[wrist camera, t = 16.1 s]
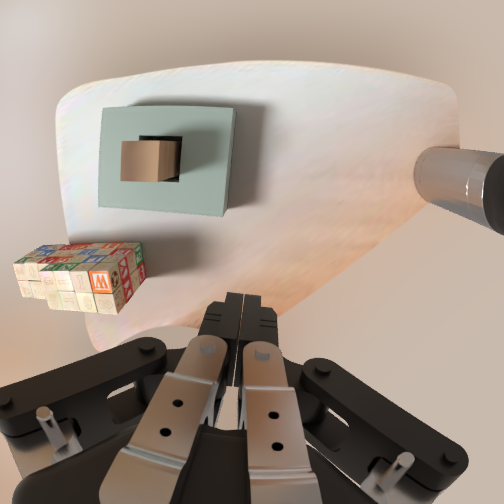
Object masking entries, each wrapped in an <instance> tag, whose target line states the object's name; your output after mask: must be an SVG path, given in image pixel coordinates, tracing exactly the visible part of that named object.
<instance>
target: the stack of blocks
mask: <svg viewBox="0 0 504 504" xmlns="http://www.w3.org/2000/svg"><path fill="white" fill-rule="evenodd" d="M13 265H14V269H15V273H16V277H17V280H18V283H19V287H20V290H21V293H22V297H29V298H38V299H47V302H48V305H49V308H50V309H55V310H73V311H81V312H93V313H98V312H99V313H102V314H118V313H119V312H120V310H121V309H122V308H123V306H124V305H125V304H126V303H127V302H128V301H129V300H130V299H131V297H132V296H133V294H134V293H135V291H136V290H137V289H138V287H139V286H140V285H141V284H142V283H143V281H144V280H145V279H146V274H145V267H144V261H143V255H142V248H141V243H123V242H119V243H93V244H79V245H64V244H63V245H43V246H41V247H39V248H37V249H36V250H34V251H32V252H30V253H28V254H27V255H25V256H24V257H23V258H21V259H20V260H18V261H17V262H15V263H14V264H13Z"/></svg>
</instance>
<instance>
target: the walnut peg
mask: <svg viewBox="0 0 504 504" xmlns="http://www.w3.org/2000/svg"><path fill="white" fill-rule="evenodd" d="M181 149H182V142H178V141H122V145H121V172H120V181H130V182H160V181H163V180H166V179H168V178H171V177H175V176H177V175H180V162H181Z"/></svg>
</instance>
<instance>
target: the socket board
mask: <svg viewBox="0 0 504 504" xmlns="http://www.w3.org/2000/svg"><path fill="white" fill-rule="evenodd" d="M235 120H236V112H235V110H234V109H233V108H225V107H206V106H127V107H109V108H103V111H102V122H101V134H100V150H99V178H98V207H109V208H123V209H136V210H149V211H161V212H173V213H184V214H195V215H206V216H216V217H223V216H224V214H225V212H226V210H227V202H228V191H229V180H230V169H231V159H232V149H233V139H234V129H235ZM152 136H165V137H183V138H182V149H181V162H180V176H179V178H168V179H166V180H163V181H160V182H130V181H120V172H121V145H122V141H151V140H152Z"/></svg>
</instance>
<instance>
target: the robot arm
mask: <svg viewBox="0 0 504 504" xmlns="http://www.w3.org/2000/svg"><path fill="white" fill-rule="evenodd" d="M414 181H415V185H416V188H417V190H418V192H419V194H420V195H421V196H422V198H424V199H425V200H426V201H428V202H430V203H432V204H435V205H437V206H439V207H442V208H444V209H446V210H449V211H451V212H453V213H456V214H458V215H460V216H463V217H465V218H467V219H469V220H472V221H474V222H476V223H478V224H480V225H483V226H485V227H487V228H489V229H491V230H493V231H496V232H497V233H500V234H502V235H504V154H502V153H495V152H485V151H476V150H466V149H455V148H443V147H432V148H429V149H427V150H425V151H424V152H423V153H422V154H421V155H420V156H419V158H418V160H417V162H416V165H415V169H414ZM242 304H243V294H240V293H231V292H227V295H226V299H225V303H224V302H216V301H214V302H213V303H211V304H210V305H209V306H208V307H207V310H206V313H205V315H204V319H203V321H202V324H201V327H200V330H199V333H198V336H197V337H195V338H193V339H192V340H191V341H190V342H189V344H188V346H187V347H185V348H181V349H171V350H170V349H169V350H167V349H166V345H165V344H164V343H163V342H162V341H161V340H159V339H156V338H153V337H142V338H138V339H135V340H133V341H130V342H127V343H125V344H122V345H119V346H117V347H114V348H112V349H109V350H106V351H104V352H101V353H98V354H96V355H93V356H90V357H87V358H85V359H82V360H79V361H77V362H74V363H71V364H68V365H65V366H63V367H60V368H57V369H54V370H51V371H48V372H46V373H43V374H40V375H37V376H34V377H32V378H28V379H25V380H23V381H19V382H17V383H13V384H10V385H7V386H4V387H1V388H0V432H1V433H2V435H3V436H4V438H5V439H6V441H7V442H8V445H9V447H10V450H11V453H12V455H13V458H14V460H15V463H16V465H17V467H18V470H19V472H20V474H21V476H22V479H23V480H22V481H21V482H20V483H19V484H18V485H17V487H16V489H15V491H14V494H13V498H12V504H432V503H433V502H434V500H435V499H436V498H437V497H438V496H439V495H440V494H441V493H442V492H444V490H446V489H447V488H448V487H449V486H450V485H451V484H452V483H453V482H454V481H455V480H456V479H457V478H458V477H459V476H460V475H461V474H462V473H463V472H464V471H465V470H466V468H467V467H468V462H469V459H468V455H467V453H466V451H465V450H464V449H463V448H462V447H461V446H460V445H458V444H457V443H455V442H453V441H452V440H450V439H449V438H447V437H445V436H444V435H442V434H441V433H439V432H437V431H436V430H434V429H433V428H431V427H430V426H428V425H427V424H425V423H423V422H422V421H420V420H419V419H417V418H416V417H414V416H413V415H411V414H410V413H408V412H407V411H405V410H403V409H402V408H400V407H398V406H397V405H396V404H394V403H393V402H391V401H390V400H388V399H387V398H385V397H384V396H383V395H381V394H380V393H378V392H377V391H375V390H374V389H372V388H371V387H369V386H368V385H366V384H365V383H363V382H362V381H360V380H359V379H358V378H356V377H355V376H353V375H352V374H350V373H349V372H347V371H346V370H344V369H343V368H342V367H340V366H339V365H338V364H336V363H335V362H333V361H331V360H328V359H324V358H313V359H309V360H308V361H306V362H305V363H304V365H300V364H297V363H294V362H291V361H289V360H287V359H285V358H284V357H283V356H282V352H281V350H280V349H279V346H278V328H277V314H276V313H275V311H274V310H273V309H272V308H268V307H261V296H258V295H249V294H245V297H244V305H243V312H242ZM241 314H242V319H241ZM240 323H241V326H240ZM239 332H240V334H239ZM238 340H239V342H238ZM237 347H238V351H237ZM236 354H237V361H236ZM235 361H236V370H235V380H234V387H239V389H238V399H237V430H221V429H218V428H216V425H217V422H218V418H219V414H220V411H221V407H222V404H223V398H224V394H225V392H226V386H232V383H233V376H234V369H235ZM132 382H133V383H134V387H133V388H130V389H128V390H126V391H124V392H121V393H119V394H117V395H115V396H112V397H110V398H108V399H107V397H108V395H109V394H110V393H111V392H112V391H115V390H117V389H119V388H121V387H123V386H126V385H128V384H130V383H132ZM329 408H330V409H331V410H333V411H334V412H335V413H336V414H338V415H339V416H340V417H341V418H343V419H344V420H345V421H346V422H347V423H348V425H349V427H348V426H347V425H345V424H344V423H343V422H342V421H340V420H339V419H338V418H337V417H335V416H334V415H333V414H331V413H330V412H329V411H328V409H329ZM305 439H306V440H307V441H308V442H309V443H310V444H311V445H312V446H313V447H315V448H316V449H317V450H318V451H319V452H318V451H317V450H315V449H314V448H312V447H311V446H309V445H307V444H306V442H305ZM322 454H323V455H324V456H325V457H326V458H327V459H329V460H330V461H331V462H332V463H333V464H335V465H336V466H337V467H338V468H339V469H340V470H342V471H343V472H344V473H345V474H347V475H348V476H349V477H350V478H352V479H353V480H354V481H355V482H357V483H358V484H359V485H360V486H361V487H360V488H359V487H358V486H357V485H356V484H355V483H353V482H352V481H351V480H350V479H349V478H348V477H346V476H345V475H344V474H343V473H342V472H341V471H340V470H338V469H337V468H336V467H335V466H334V465H333V464H332V463H331V462H330V461H329V460H327V459H326V458H325V457H324V456H323V455H322Z"/></svg>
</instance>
